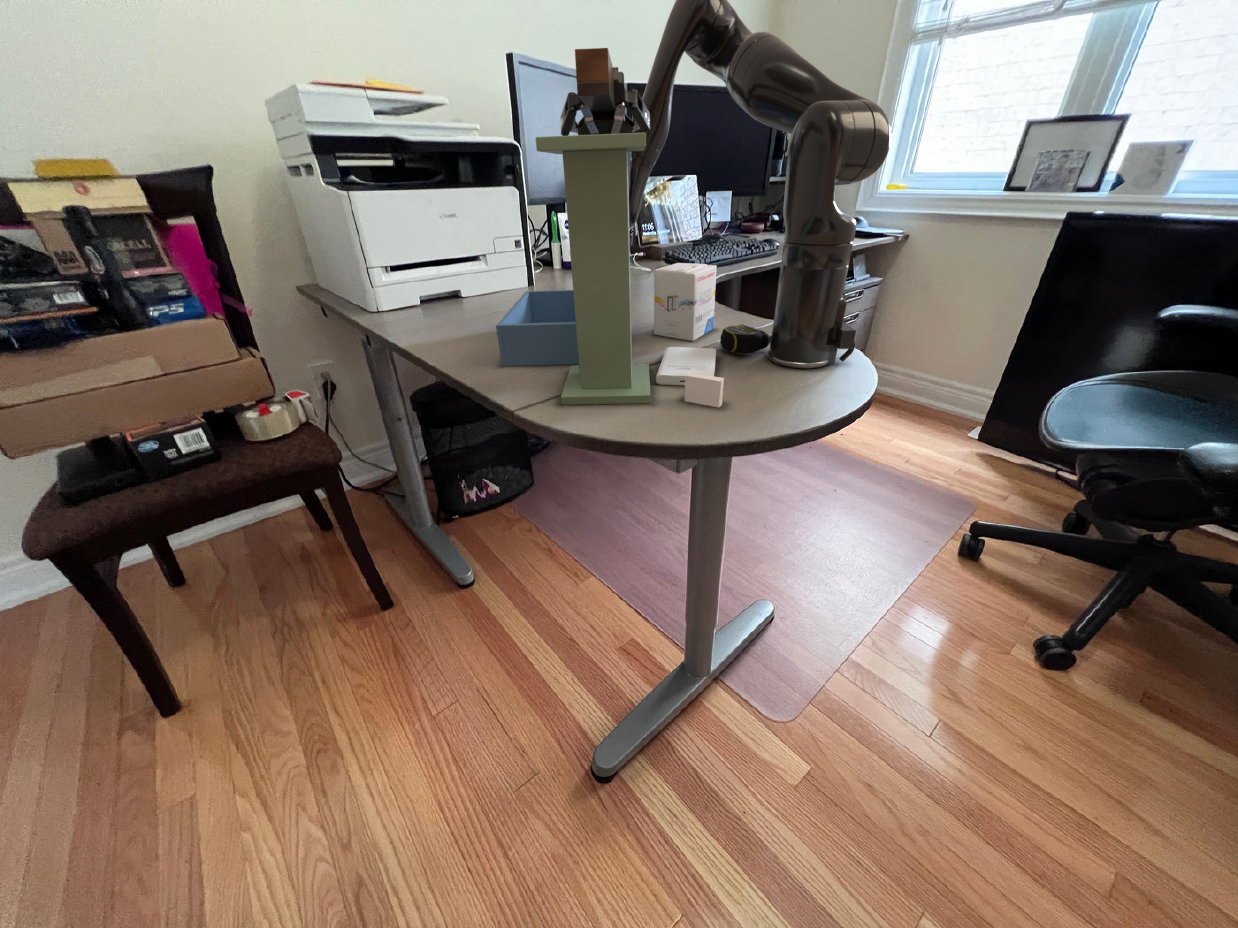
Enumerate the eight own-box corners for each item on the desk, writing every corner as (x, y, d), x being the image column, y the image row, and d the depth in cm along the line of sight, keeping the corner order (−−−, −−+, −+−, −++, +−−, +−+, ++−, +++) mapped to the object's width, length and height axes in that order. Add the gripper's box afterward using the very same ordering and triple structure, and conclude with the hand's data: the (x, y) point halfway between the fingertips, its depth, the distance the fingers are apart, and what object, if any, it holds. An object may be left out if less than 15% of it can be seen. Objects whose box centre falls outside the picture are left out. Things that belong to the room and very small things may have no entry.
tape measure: (770, 353, 81) (773, 330, 79) (737, 361, 78) (740, 338, 76) (742, 342, 86) (744, 321, 84) (711, 349, 83) (712, 327, 81)
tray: (595, 322, 100) (594, 289, 97) (585, 364, 79) (582, 323, 76) (530, 324, 101) (525, 291, 97) (502, 366, 80) (495, 325, 76)
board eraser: (616, 111, 70) (615, 76, 68) (609, 95, 53) (607, 48, 51) (591, 112, 71) (590, 77, 68) (577, 96, 54) (574, 49, 51)
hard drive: (715, 358, 80) (713, 387, 70) (665, 356, 81) (655, 384, 71) (716, 348, 79) (714, 376, 69) (666, 346, 81) (655, 373, 70)
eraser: (719, 407, 64) (721, 381, 62) (684, 401, 66) (685, 375, 64) (722, 404, 65) (724, 377, 63) (687, 398, 67) (688, 372, 65)
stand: (648, 366, 77) (647, 139, 62) (650, 409, 64) (651, 132, 48) (572, 368, 78) (553, 143, 62) (559, 411, 64) (530, 137, 49)
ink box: (675, 323, 98) (677, 261, 91) (714, 329, 93) (718, 264, 87) (652, 335, 92) (652, 268, 86) (692, 342, 87) (695, 272, 81)
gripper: (565, 133, 81) (545, 47, 63) (651, 130, 80) (654, 42, 63) (566, 180, 81) (546, 107, 64) (651, 176, 80) (655, 102, 63)
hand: (600, 75), depth 63 cm, fingers closed on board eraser, 3 cm apart
